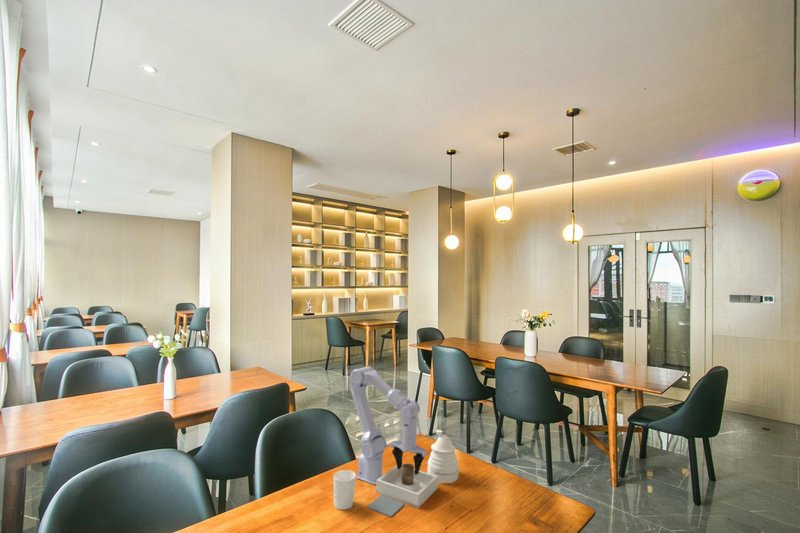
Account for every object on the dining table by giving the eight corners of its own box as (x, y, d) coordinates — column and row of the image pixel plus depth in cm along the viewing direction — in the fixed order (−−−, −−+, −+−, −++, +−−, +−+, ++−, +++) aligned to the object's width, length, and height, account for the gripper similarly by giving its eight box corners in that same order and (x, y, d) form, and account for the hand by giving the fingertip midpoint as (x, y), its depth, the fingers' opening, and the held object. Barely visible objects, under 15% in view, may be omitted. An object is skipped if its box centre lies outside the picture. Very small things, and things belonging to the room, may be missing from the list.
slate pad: (366, 507, 131) (366, 506, 131) (381, 496, 139) (381, 495, 139) (391, 517, 126) (391, 516, 126) (404, 504, 134) (404, 503, 134)
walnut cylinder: (399, 483, 143) (400, 466, 144) (405, 478, 147) (405, 462, 147) (409, 486, 141) (410, 470, 141) (415, 481, 145) (416, 465, 145)
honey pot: (424, 481, 151) (426, 435, 153) (429, 466, 164) (431, 424, 165) (457, 486, 148) (458, 439, 150) (459, 471, 161) (460, 428, 162)
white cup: (358, 501, 135) (359, 472, 136) (348, 513, 128) (349, 482, 129) (338, 496, 138) (340, 468, 139) (328, 507, 131) (329, 478, 131)
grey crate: (376, 492, 142) (376, 480, 142) (398, 475, 155) (398, 464, 156) (418, 508, 132) (418, 494, 133) (437, 488, 146) (437, 476, 146)
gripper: (387, 433, 145) (386, 469, 144) (420, 442, 138) (419, 480, 137) (397, 428, 151) (396, 462, 151) (429, 436, 144) (428, 472, 143)
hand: (408, 470), depth 144 cm, fingers open, 7 cm apart
